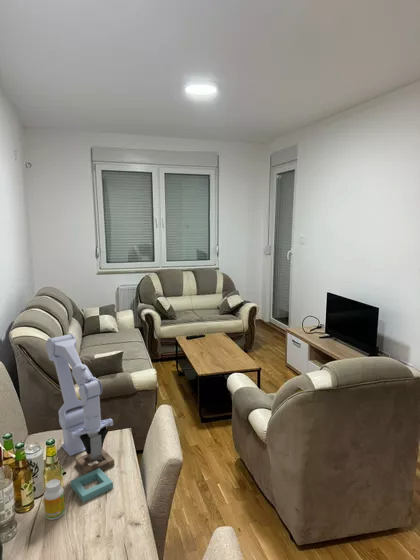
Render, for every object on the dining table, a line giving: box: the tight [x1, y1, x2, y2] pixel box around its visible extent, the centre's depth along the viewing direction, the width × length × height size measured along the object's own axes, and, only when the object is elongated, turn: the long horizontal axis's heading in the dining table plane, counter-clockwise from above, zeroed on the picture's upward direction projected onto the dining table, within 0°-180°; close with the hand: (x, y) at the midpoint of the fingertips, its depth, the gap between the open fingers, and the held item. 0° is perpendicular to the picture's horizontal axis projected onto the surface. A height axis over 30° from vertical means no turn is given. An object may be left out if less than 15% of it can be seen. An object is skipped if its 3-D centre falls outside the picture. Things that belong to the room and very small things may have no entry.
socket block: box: [75, 448, 115, 475], centre depth 135 cm, size 10×10×2 cm
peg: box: [86, 432, 103, 464], centre depth 134 cm, size 4×4×9 cm
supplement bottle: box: [43, 478, 66, 521], centre depth 111 cm, size 5×5×10 cm
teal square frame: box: [70, 468, 114, 503], centre depth 123 cm, size 10×10×2 cm
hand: (94, 450), depth 135 cm, fingers closed on peg, 4 cm apart
